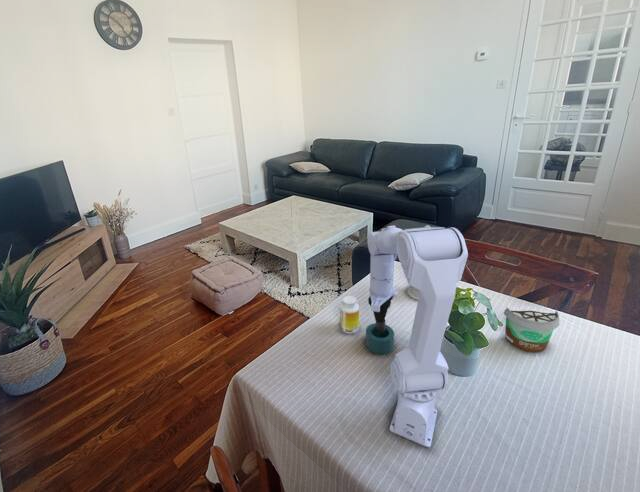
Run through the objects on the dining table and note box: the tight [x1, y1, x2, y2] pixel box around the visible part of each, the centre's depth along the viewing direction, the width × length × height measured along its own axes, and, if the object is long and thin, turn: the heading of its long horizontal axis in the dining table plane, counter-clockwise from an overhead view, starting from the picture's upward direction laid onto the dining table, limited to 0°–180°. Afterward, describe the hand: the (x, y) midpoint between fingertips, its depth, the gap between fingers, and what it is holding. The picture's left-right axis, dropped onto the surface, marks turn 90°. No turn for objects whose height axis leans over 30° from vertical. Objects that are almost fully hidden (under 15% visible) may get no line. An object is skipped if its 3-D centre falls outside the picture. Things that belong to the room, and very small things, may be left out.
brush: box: [375, 318, 386, 332], centre depth 91 cm, size 3×3×8 cm
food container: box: [503, 307, 561, 354], centre depth 87 cm, size 12×6×10 cm, turn 76°
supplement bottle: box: [339, 295, 360, 334], centre depth 100 cm, size 6×6×10 cm
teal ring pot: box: [365, 322, 395, 355], centre depth 93 cm, size 7×7×4 cm
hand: (380, 318), depth 91 cm, fingers closed on brush
